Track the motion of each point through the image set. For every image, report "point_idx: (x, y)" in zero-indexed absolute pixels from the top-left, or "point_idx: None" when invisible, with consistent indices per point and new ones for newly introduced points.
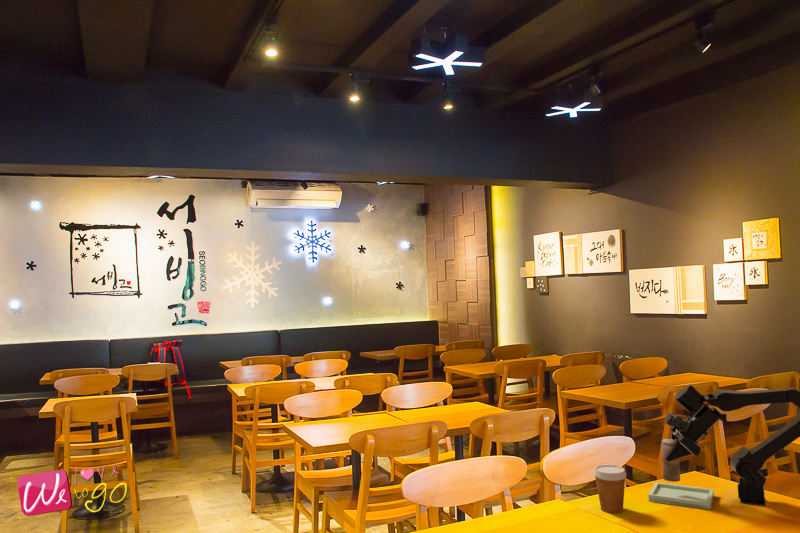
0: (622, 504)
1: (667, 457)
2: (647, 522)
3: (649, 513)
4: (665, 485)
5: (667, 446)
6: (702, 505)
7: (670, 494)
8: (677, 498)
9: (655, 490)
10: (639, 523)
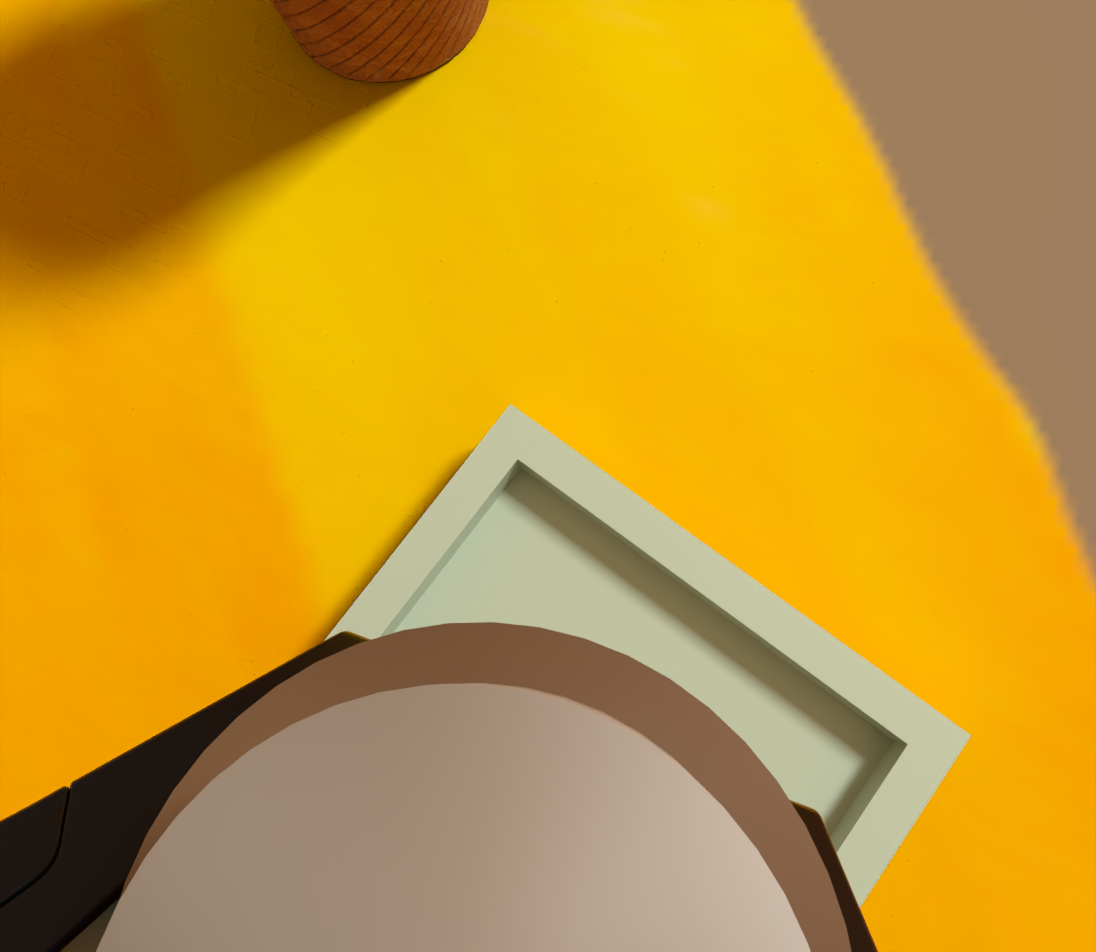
0: (277, 8)
1: (302, 661)
2: (3, 157)
3: (194, 272)
4: (850, 824)
5: (238, 739)
6: None
7: None
8: None
9: (698, 595)
10: (6, 84)
